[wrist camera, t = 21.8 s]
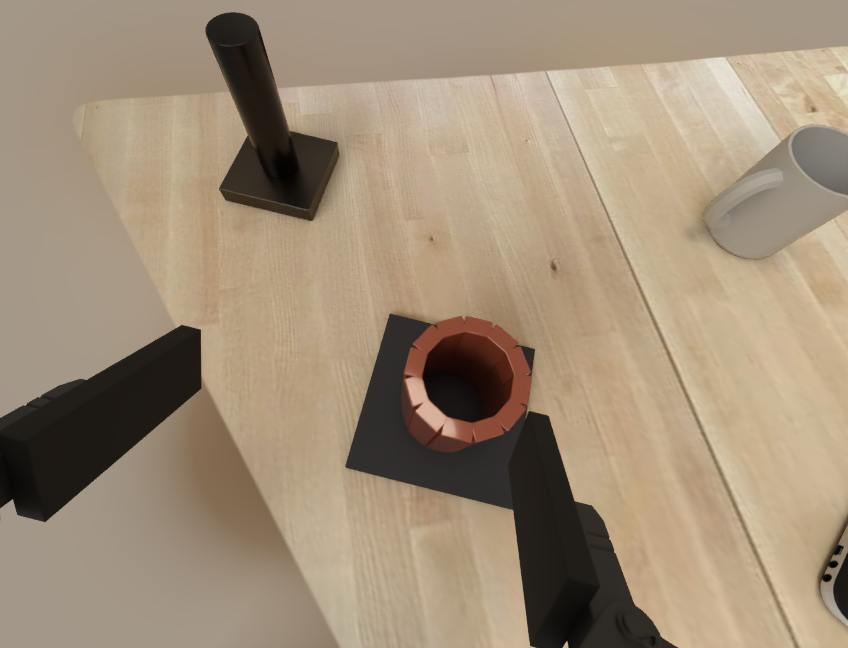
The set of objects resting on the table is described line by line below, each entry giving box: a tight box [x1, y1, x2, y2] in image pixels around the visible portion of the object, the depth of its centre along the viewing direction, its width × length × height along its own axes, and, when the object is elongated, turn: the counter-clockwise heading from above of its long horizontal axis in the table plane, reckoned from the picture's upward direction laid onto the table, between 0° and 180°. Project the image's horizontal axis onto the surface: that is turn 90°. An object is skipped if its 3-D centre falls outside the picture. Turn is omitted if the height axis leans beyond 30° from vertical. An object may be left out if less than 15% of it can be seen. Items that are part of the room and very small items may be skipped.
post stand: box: [206, 12, 339, 221], centre depth 31 cm, size 8×8×13 cm
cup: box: [703, 124, 848, 259], centre depth 34 cm, size 7×10×9 cm
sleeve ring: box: [401, 316, 532, 454], centre depth 25 cm, size 7×7×9 cm
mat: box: [345, 314, 535, 510], centre depth 30 cm, size 12×12×1 cm
